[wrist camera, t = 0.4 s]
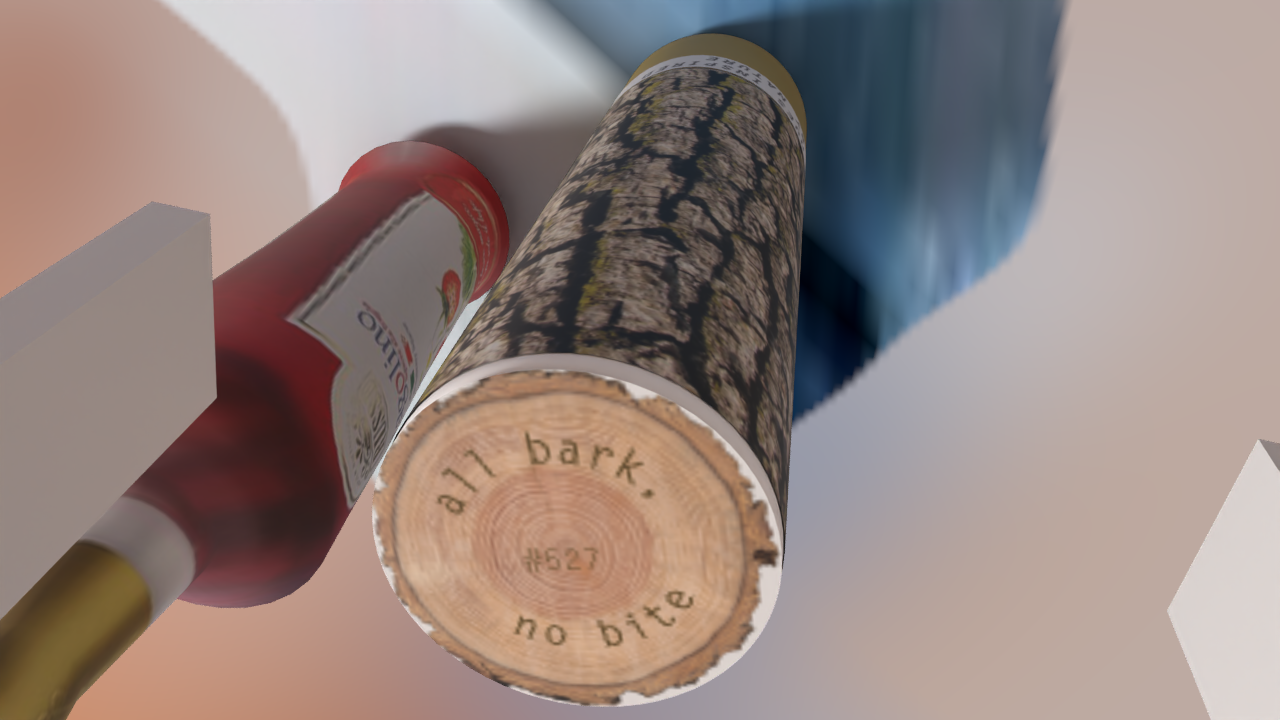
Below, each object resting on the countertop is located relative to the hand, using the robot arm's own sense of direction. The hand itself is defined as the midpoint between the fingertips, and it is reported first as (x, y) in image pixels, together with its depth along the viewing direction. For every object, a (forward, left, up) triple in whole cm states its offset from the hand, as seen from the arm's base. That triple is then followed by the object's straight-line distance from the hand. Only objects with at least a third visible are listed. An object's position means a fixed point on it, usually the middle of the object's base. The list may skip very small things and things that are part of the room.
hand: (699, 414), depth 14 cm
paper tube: (+4, -1, -27) cm, 27 cm away
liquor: (+10, -11, -27) cm, 31 cm away
